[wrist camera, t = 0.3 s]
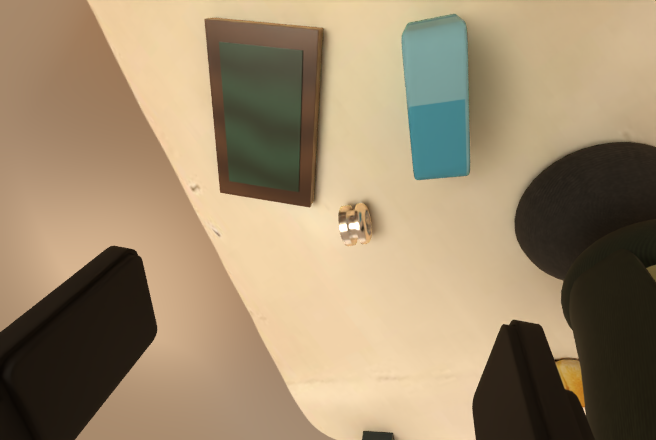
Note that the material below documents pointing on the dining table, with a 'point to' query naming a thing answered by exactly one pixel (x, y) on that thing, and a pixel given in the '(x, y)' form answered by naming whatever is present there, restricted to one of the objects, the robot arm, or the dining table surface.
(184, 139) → the dining table surface
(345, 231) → the metal grooved wheel
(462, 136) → the data package
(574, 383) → the bread roll
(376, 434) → the watch
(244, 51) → the desk pad
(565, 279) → the candelabra
